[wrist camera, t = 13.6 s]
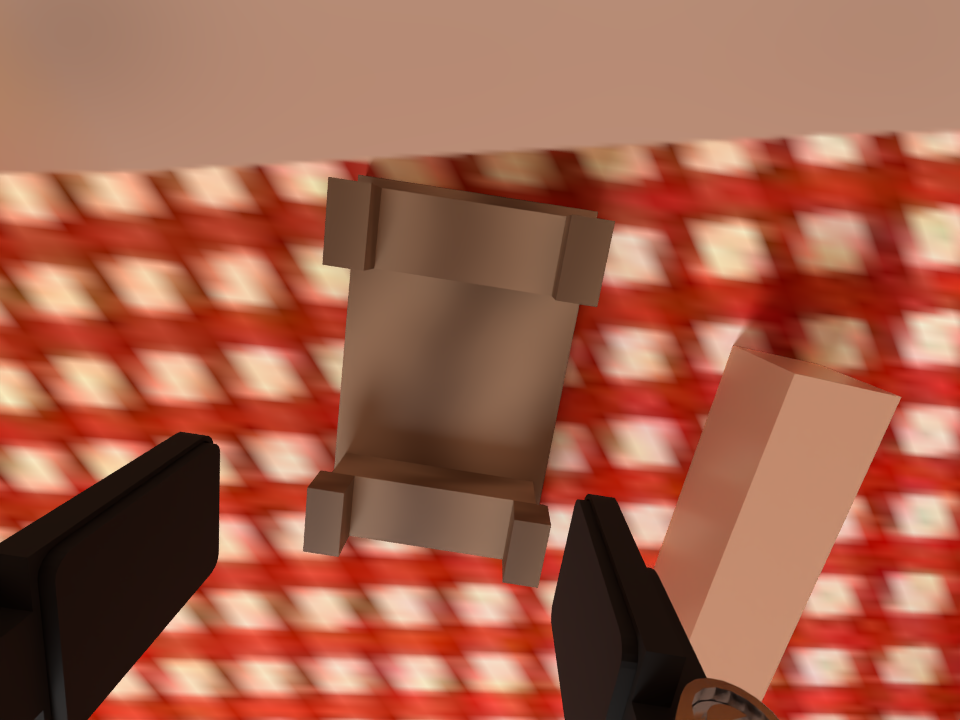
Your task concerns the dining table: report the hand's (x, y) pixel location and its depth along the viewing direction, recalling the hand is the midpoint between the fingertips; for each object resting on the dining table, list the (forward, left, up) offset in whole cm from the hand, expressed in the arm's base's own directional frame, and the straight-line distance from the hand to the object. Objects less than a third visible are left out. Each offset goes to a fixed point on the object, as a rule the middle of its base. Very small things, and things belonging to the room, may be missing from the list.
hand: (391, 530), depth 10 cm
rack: (0, 0, -13) cm, 13 cm away
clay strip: (-14, +6, -14) cm, 20 cm away
